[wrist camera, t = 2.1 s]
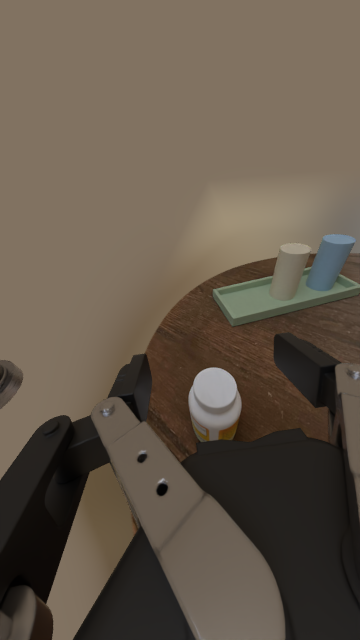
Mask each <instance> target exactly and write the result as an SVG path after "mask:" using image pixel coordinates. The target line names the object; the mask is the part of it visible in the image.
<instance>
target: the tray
mask: <svg viewBox="0 0 360 640" xmlns="http://www.w3.org/2000/svg"><path fill="white" fill-rule="evenodd" d="M311 268H312V267H309V268H305V269H304V271H303V274H302V277H301V280H300V282H299V285H298V288H297V291H296V294H295V296H294V298H293V299H291V300H287V301H282V300H277V299H274V298H273V297H271V296H270V294H269V291H270V287H271V283H272V279H273V276H270V277H266V278H261V279H257V280H253V281H248V282H244V283H240V284H235V285H231V286H227V287H222V288H218V289H214V290H213V298H214V299H215V301H216V302H217V304H218V305H219V307H220V308H221V310H222V312H223V313H224V315H225V316H226V318H227V319H228V321H229V322H230V324H231V325H232V327H233V326H237V325H241V324H245V323H249V322H253V321H257V320H261V319H265V318H269V317H273V316H277V315H281V314H285V313H289V312H293V311H297V310H301V309H305V308H309V307H313V306H317V305H321V304H324V303H328V302H332V301H336V300H340V299H344V298H348V297H352V296H356V295H358V294H359V293H360V284H358V283H356V282H354V281H352V280H350V279H348V278H346V277H344V276H343V275H341V274H339V275H338V277H337V279H336V281H335V283H334V285H333V287H332V289H330V290H328V291H316V290H313V289H310V288H309V287H307V286H306V280H307V278H308V275H309V273H310V270H311Z"/></svg>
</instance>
